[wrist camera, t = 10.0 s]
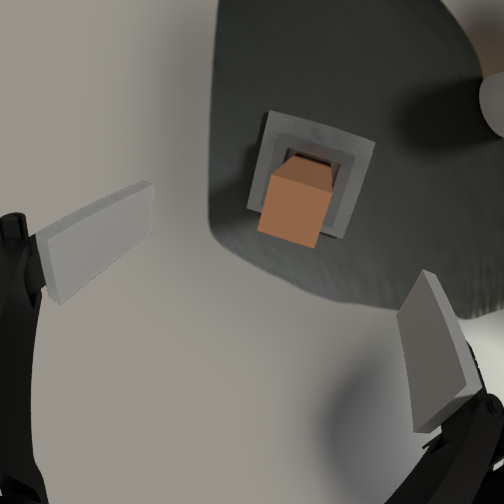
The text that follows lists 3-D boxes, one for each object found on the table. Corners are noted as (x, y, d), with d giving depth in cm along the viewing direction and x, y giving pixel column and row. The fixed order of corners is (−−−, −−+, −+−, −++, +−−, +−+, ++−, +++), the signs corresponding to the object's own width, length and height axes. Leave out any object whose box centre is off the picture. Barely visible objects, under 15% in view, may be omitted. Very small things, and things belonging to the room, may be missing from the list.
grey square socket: (270, 110, 29) (262, 108, 25) (374, 141, 27) (381, 144, 24) (248, 206, 35) (237, 217, 31) (342, 236, 33) (343, 251, 29)
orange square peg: (295, 153, 30) (271, 174, 17) (330, 164, 29) (332, 193, 17) (286, 186, 31) (257, 230, 19) (320, 197, 31) (313, 248, 19)
